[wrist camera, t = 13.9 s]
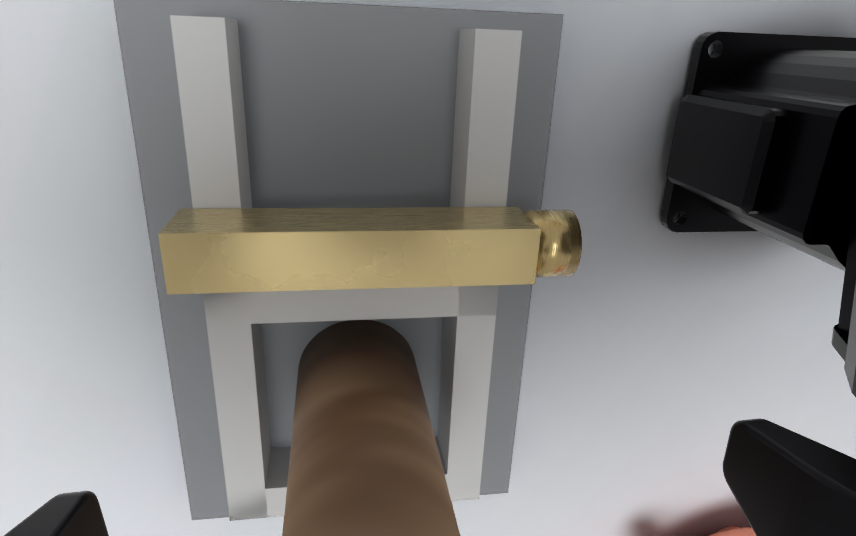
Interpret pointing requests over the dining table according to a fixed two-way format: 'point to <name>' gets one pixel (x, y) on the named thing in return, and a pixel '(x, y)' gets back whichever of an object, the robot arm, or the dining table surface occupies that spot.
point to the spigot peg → (363, 440)
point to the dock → (335, 188)
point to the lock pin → (364, 248)
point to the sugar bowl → (735, 531)
